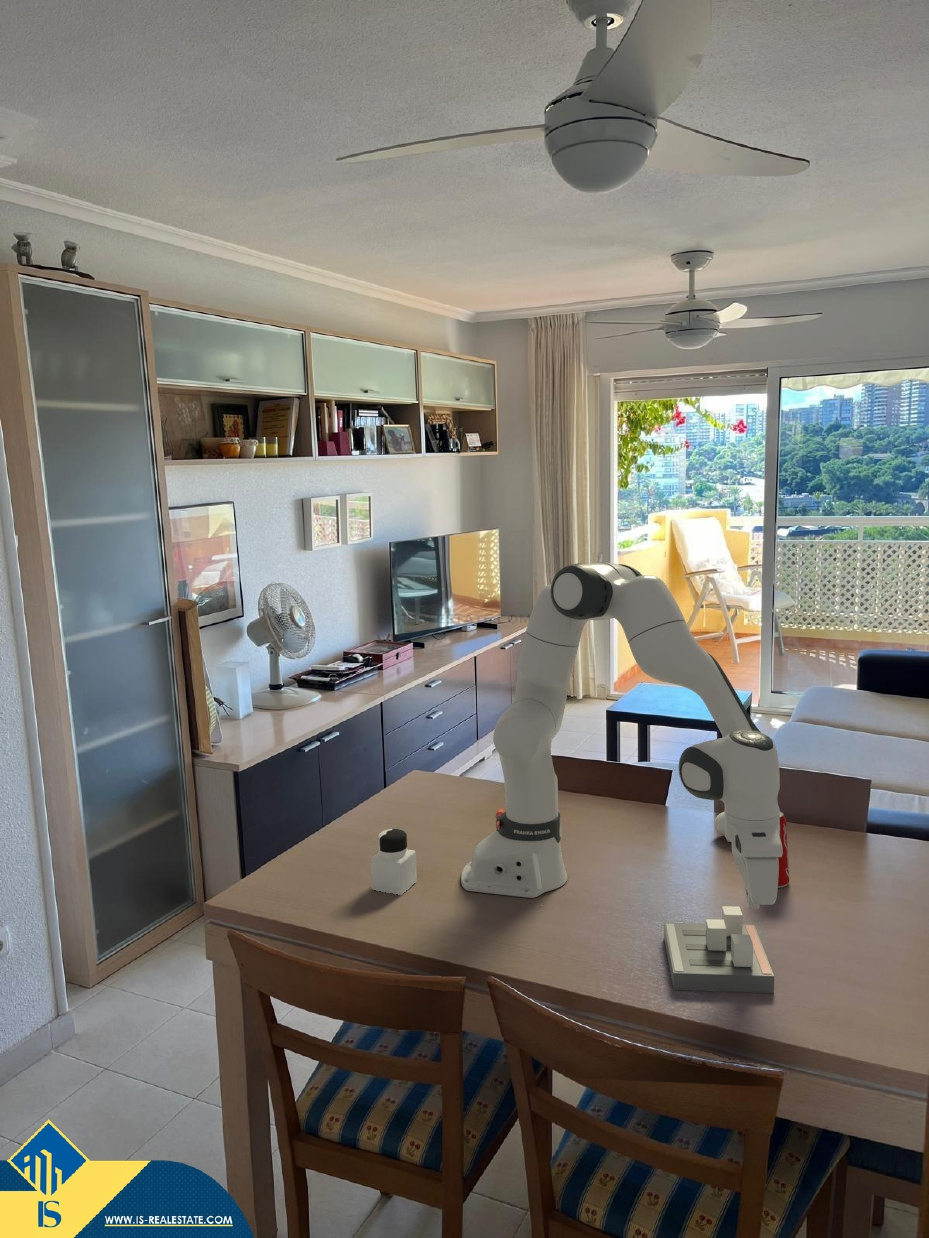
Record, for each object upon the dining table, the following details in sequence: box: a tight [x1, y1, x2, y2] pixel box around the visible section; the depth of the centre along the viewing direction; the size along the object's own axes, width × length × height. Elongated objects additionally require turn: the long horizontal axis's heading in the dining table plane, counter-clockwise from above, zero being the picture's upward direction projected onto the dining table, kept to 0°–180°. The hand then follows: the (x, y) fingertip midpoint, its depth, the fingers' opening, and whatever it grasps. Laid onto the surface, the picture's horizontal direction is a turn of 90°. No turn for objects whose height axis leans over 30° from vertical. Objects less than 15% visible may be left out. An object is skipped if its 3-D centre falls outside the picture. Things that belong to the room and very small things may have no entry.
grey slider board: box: [663, 922, 775, 994], centre depth 157 cm, size 16×17×3 cm
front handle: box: [731, 934, 753, 967], centre depth 151 cm, size 3×3×4 cm
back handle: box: [721, 905, 743, 936], centre depth 161 cm, size 3×3×4 cm
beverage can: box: [778, 810, 790, 889], centre depth 186 cm, size 6×6×15 cm
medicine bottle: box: [370, 828, 418, 896], centre depth 191 cm, size 7×7×12 cm
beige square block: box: [705, 918, 726, 951], centre depth 157 cm, size 3×3×4 cm
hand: (752, 905), depth 155 cm, fingers closed
